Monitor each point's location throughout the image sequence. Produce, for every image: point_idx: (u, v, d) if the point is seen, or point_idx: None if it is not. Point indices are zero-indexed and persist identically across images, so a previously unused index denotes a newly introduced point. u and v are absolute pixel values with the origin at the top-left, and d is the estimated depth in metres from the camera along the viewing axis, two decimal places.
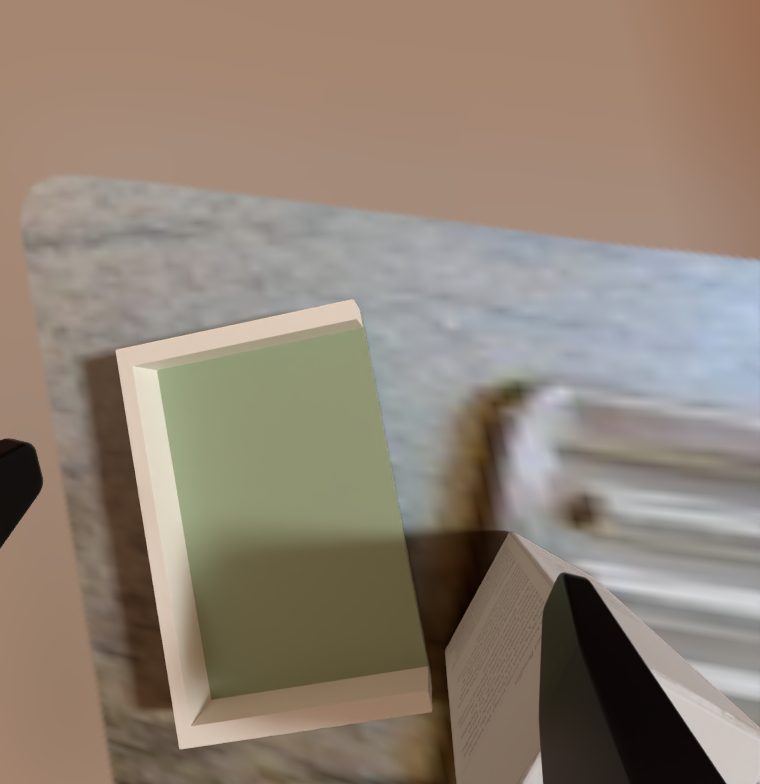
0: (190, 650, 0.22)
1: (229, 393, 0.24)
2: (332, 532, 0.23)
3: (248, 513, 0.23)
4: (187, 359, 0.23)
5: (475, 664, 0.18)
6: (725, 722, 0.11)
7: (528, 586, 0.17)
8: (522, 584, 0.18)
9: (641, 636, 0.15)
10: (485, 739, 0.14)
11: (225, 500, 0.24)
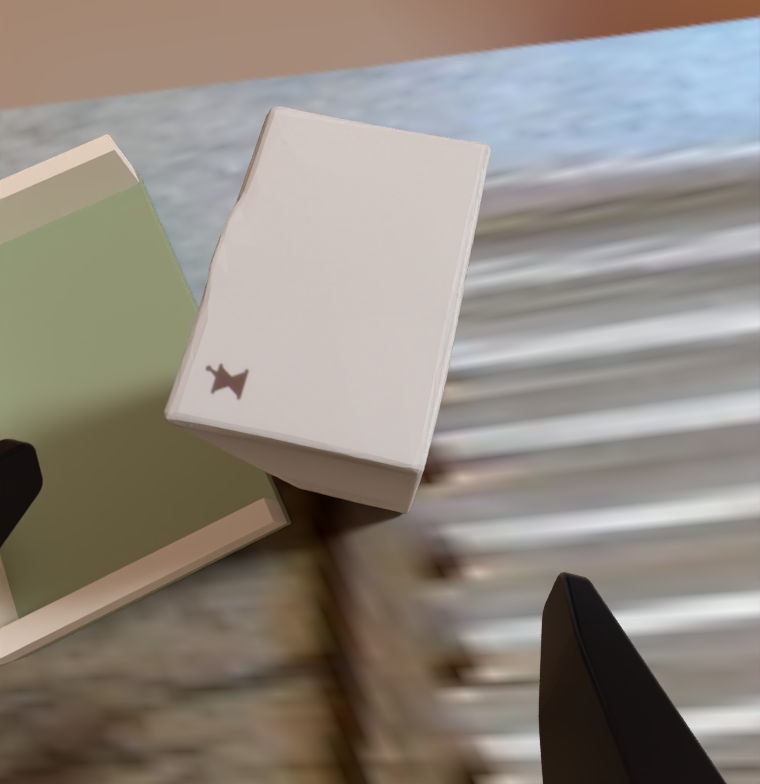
0: None
1: (5, 280, 0.21)
2: (141, 388, 0.20)
3: (41, 395, 0.20)
4: None
5: None
6: (427, 138, 0.09)
7: None
8: None
9: None
10: None
11: (13, 390, 0.20)
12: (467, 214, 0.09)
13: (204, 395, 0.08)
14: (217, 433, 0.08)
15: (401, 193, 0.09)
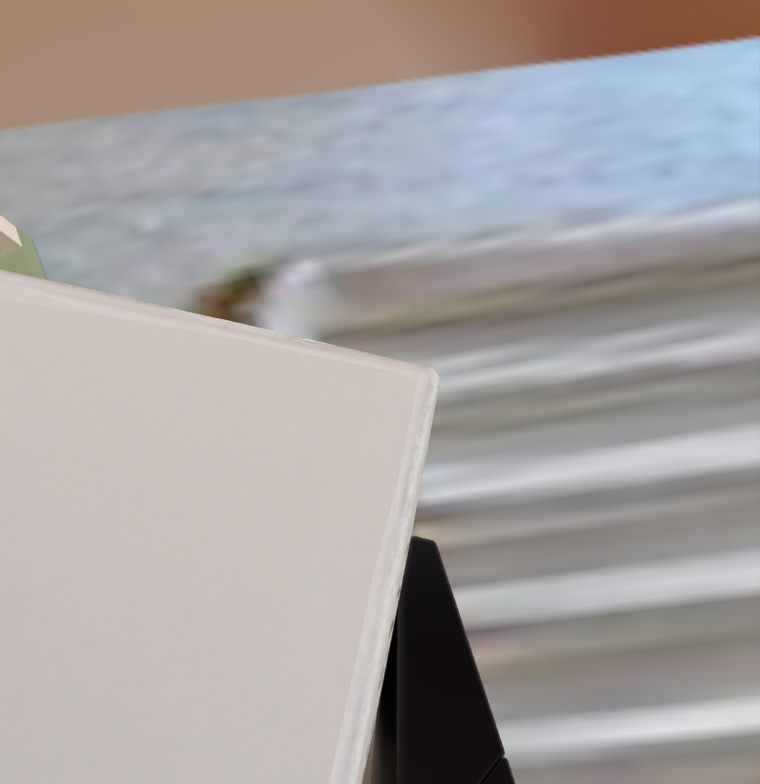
0: None
1: None
2: None
3: None
4: None
5: None
6: (296, 352, 0.04)
7: None
8: None
9: None
10: None
11: None
12: (378, 561, 0.04)
13: None
14: None
15: (223, 502, 0.04)
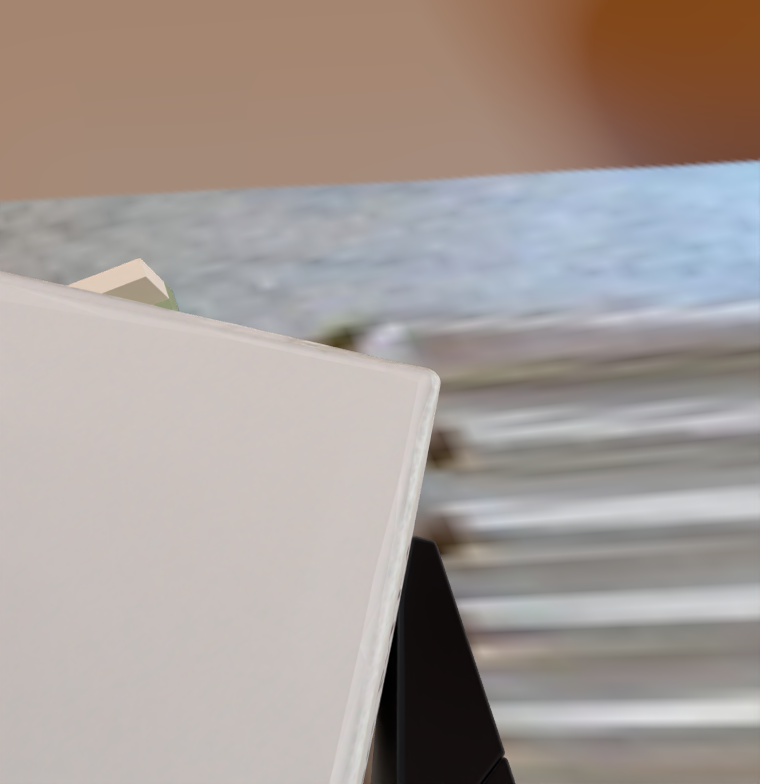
0: None
1: None
2: None
3: None
4: None
5: None
6: (296, 354, 0.04)
7: None
8: None
9: None
10: None
11: None
12: (377, 566, 0.04)
13: None
14: None
15: (224, 504, 0.04)
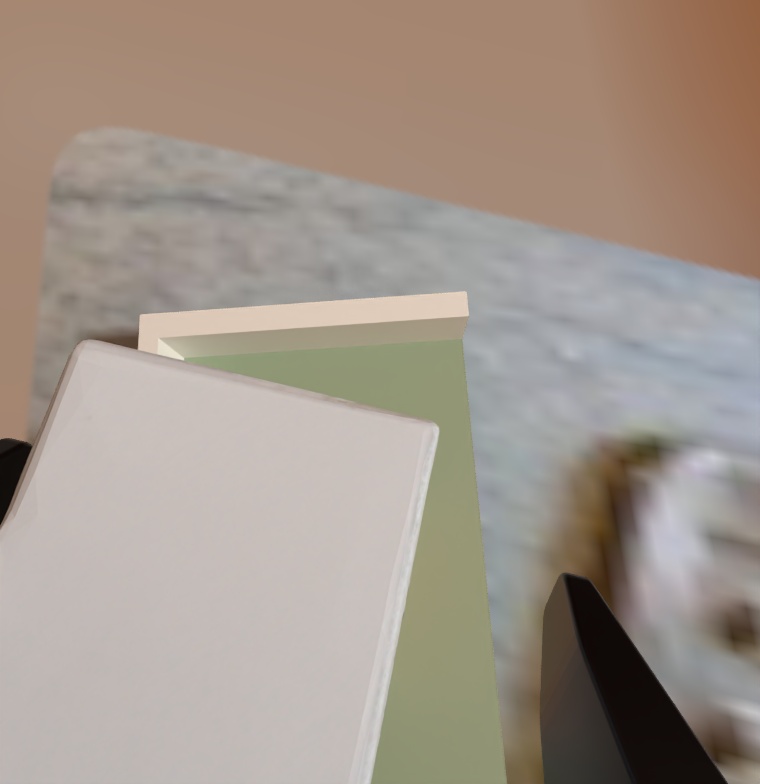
0: None
1: None
2: None
3: None
4: (230, 344, 0.17)
5: None
6: (331, 410, 0.05)
7: None
8: None
9: None
10: None
11: None
12: (393, 568, 0.05)
13: None
14: None
15: (280, 523, 0.05)
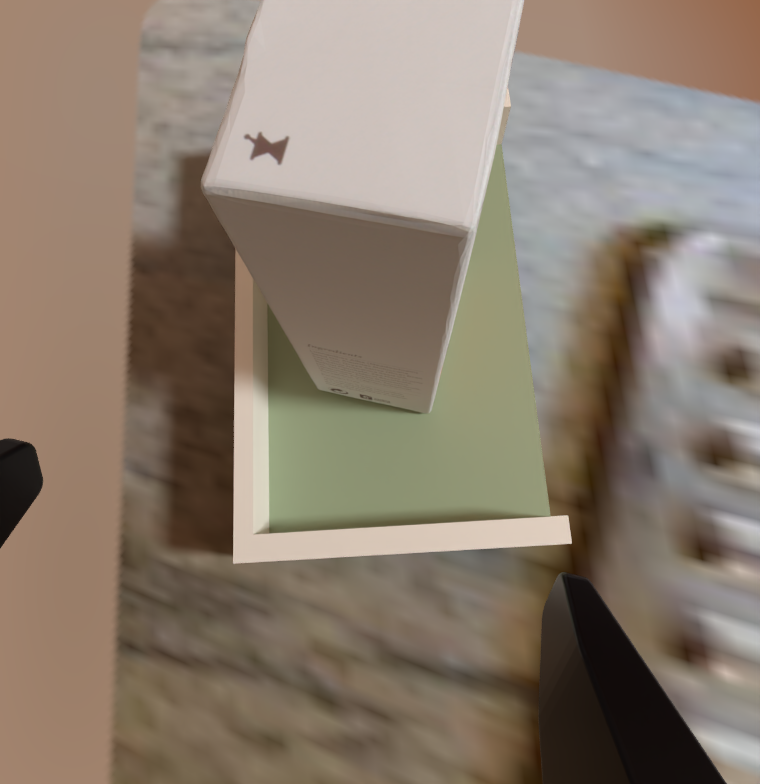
0: (260, 454, 0.18)
1: None
2: None
3: None
4: None
5: None
6: None
7: None
8: None
9: None
10: None
11: None
12: None
13: (244, 162, 0.08)
14: (257, 201, 0.08)
15: None
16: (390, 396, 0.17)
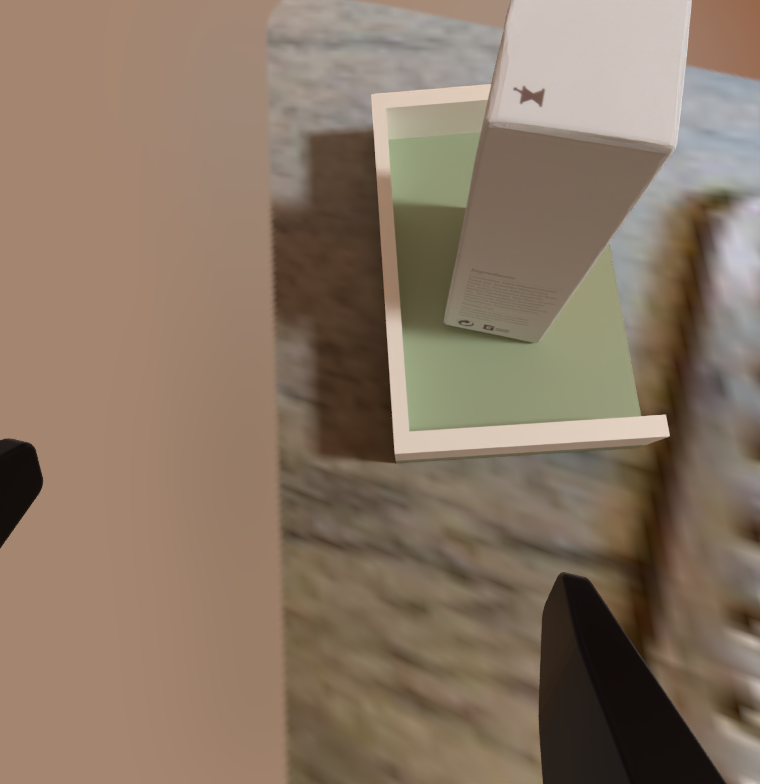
0: None
1: (455, 164, 0.25)
2: None
3: None
4: (428, 121, 0.25)
5: None
6: None
7: None
8: None
9: None
10: None
11: (443, 254, 0.24)
12: None
13: (515, 105, 0.12)
14: (524, 131, 0.12)
15: None
16: (514, 324, 0.21)
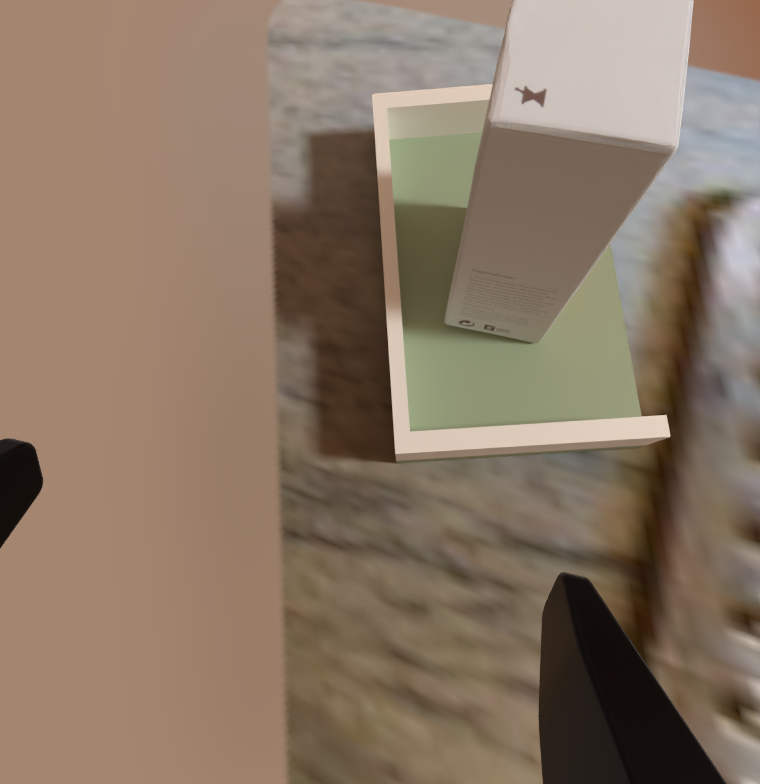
0: None
1: (456, 165, 0.25)
2: None
3: None
4: (429, 121, 0.25)
5: None
6: None
7: None
8: None
9: None
10: None
11: (443, 254, 0.24)
12: None
13: (517, 105, 0.12)
14: (526, 131, 0.12)
15: None
16: (514, 324, 0.21)
